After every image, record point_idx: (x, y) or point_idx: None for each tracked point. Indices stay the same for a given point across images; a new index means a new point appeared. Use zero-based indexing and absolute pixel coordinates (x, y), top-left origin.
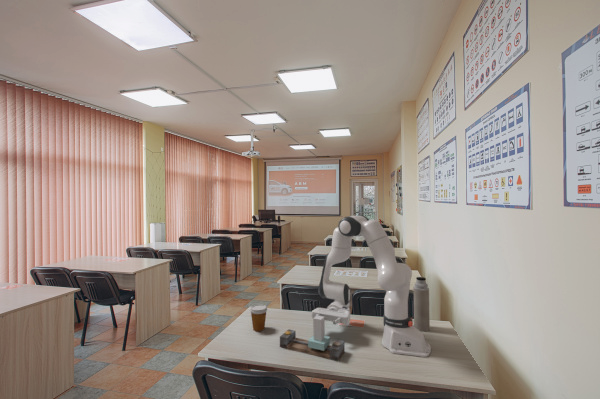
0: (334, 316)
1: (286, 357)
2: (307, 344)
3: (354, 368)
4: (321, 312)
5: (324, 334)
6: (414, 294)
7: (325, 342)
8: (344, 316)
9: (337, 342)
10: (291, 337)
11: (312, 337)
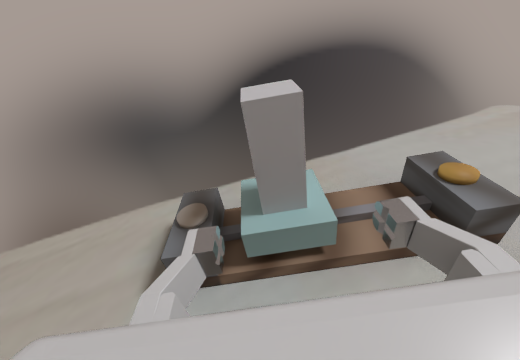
0: (226, 316)
1: (347, 167)
2: (338, 211)
3: (144, 219)
4: (495, 296)
5: (260, 199)
6: None
7: (241, 192)
8: (45, 355)
9: (191, 217)
10: (431, 192)
11: (316, 190)
